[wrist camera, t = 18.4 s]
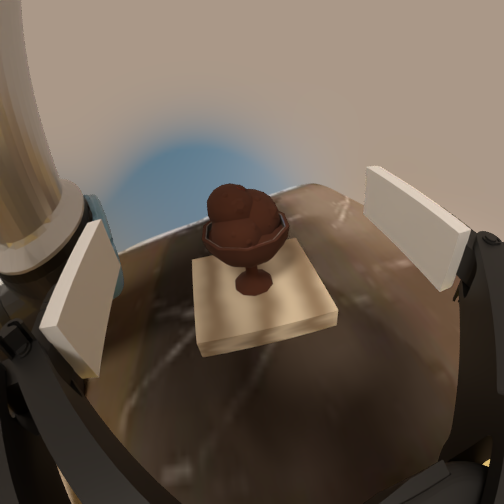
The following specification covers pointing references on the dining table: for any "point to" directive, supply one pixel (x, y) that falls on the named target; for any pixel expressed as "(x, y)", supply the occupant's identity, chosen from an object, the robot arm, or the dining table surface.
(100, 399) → the dining table surface
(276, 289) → the maple stand board
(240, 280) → the ice cream bowl
